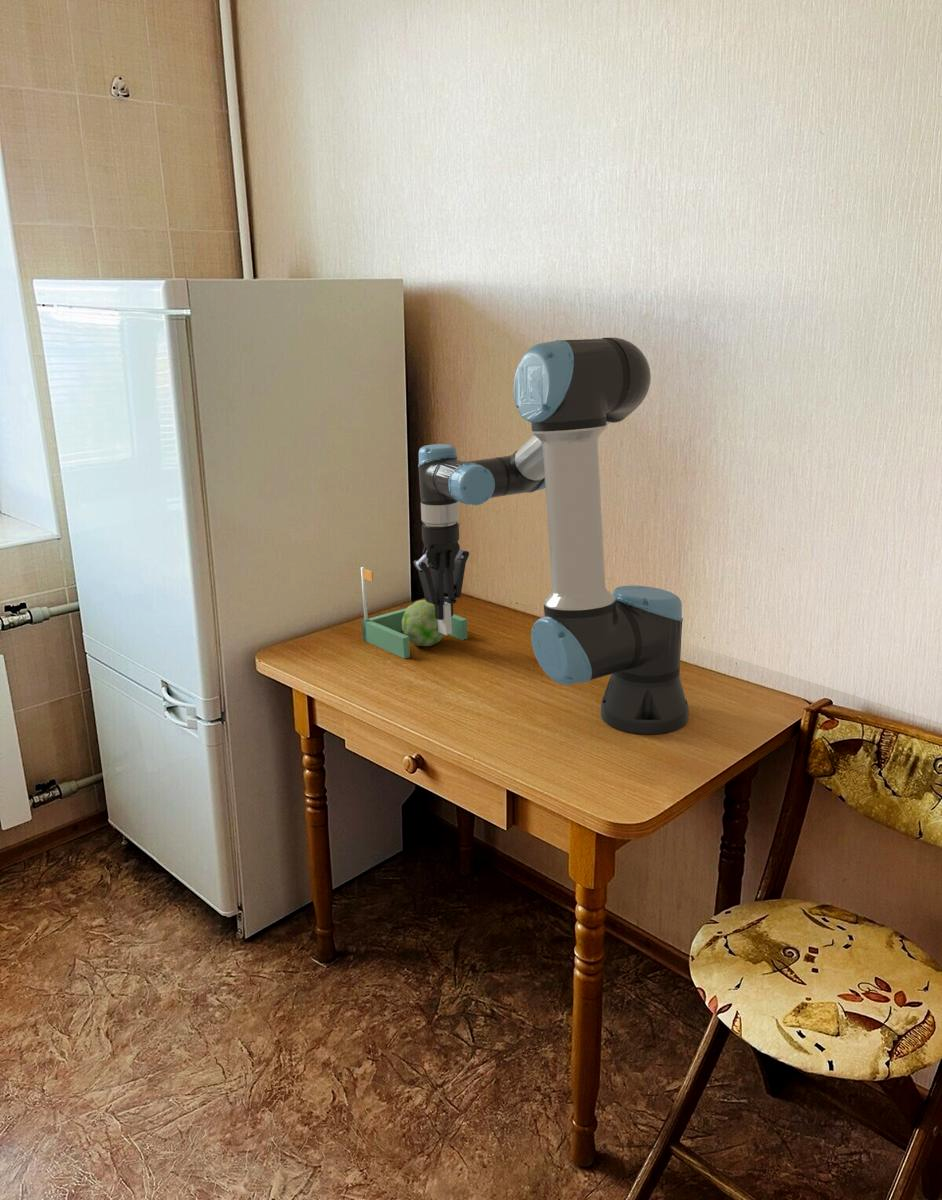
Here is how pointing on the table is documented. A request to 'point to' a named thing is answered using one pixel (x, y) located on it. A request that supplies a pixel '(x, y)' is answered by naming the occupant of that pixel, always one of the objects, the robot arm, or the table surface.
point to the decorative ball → (421, 624)
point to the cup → (395, 626)
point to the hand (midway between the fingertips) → (444, 632)
